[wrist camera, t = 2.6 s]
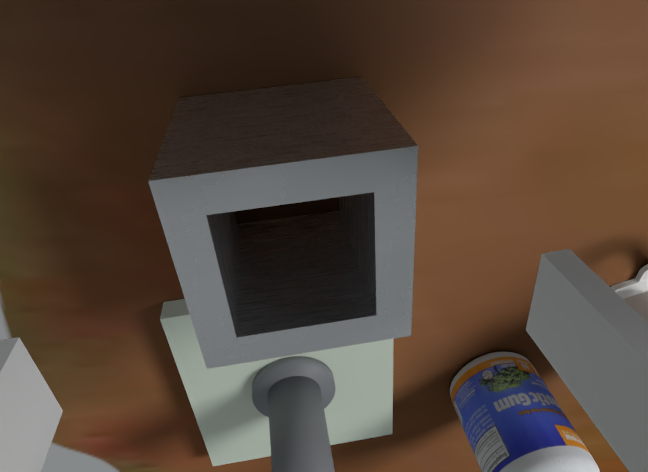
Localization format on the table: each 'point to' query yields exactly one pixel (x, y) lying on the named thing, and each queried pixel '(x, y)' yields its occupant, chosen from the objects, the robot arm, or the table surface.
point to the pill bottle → (515, 418)
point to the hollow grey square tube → (289, 218)
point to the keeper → (284, 399)
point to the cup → (635, 292)
